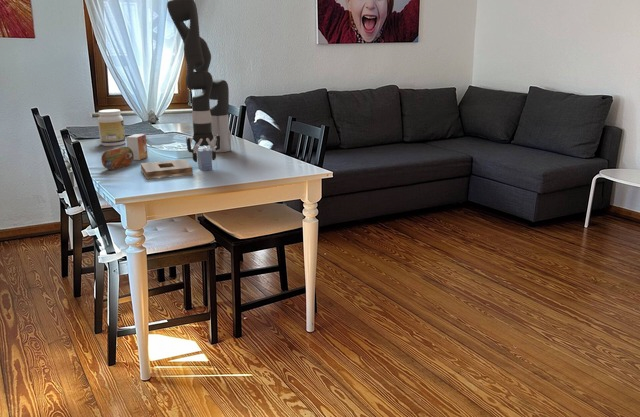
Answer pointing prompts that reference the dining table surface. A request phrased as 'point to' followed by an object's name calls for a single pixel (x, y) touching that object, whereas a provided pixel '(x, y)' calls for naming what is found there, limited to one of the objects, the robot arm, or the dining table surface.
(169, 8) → the robot arm
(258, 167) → the dining table surface
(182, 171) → the pocket board
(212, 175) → the dining table surface
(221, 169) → the dining table surface
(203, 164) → the block
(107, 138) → the supplement tub
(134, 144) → the small box
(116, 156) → the tin
